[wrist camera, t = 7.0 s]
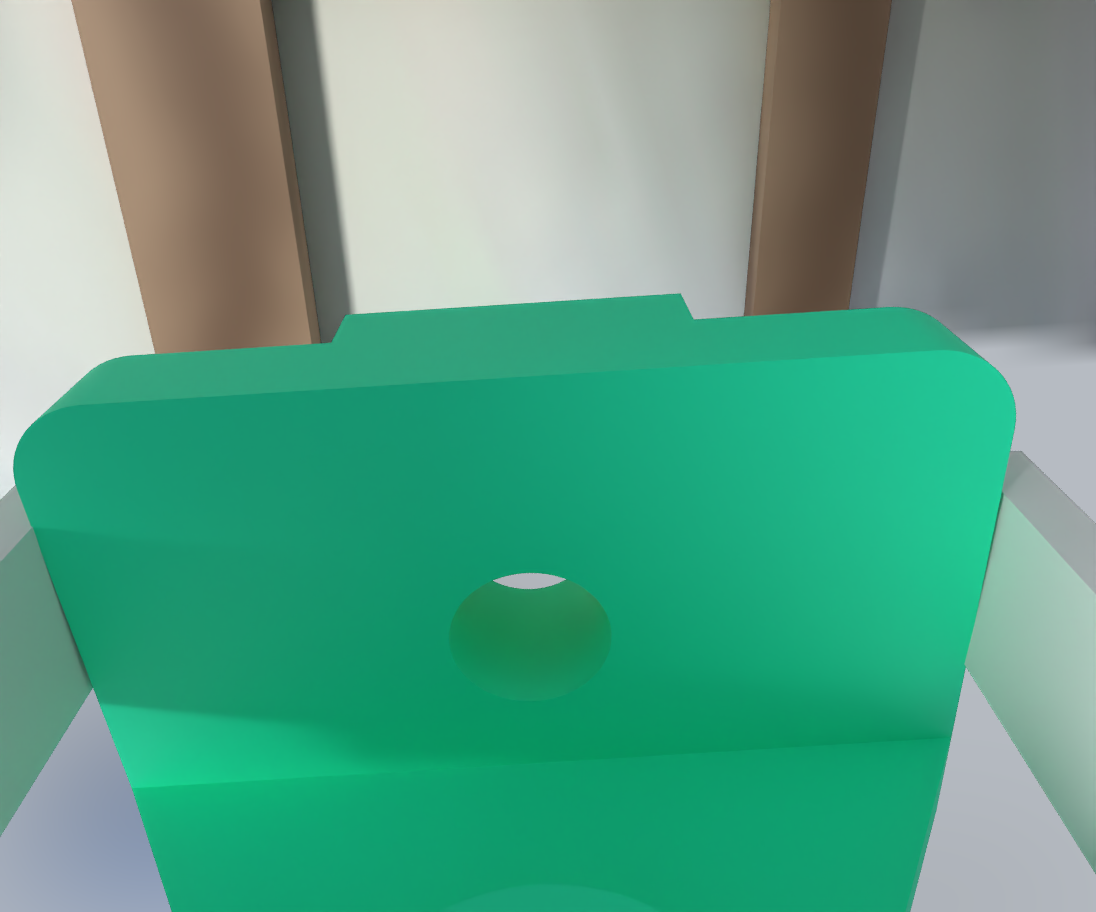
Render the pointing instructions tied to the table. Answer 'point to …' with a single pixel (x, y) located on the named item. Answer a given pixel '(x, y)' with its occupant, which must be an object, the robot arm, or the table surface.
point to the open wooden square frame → (272, 188)
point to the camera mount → (532, 603)
